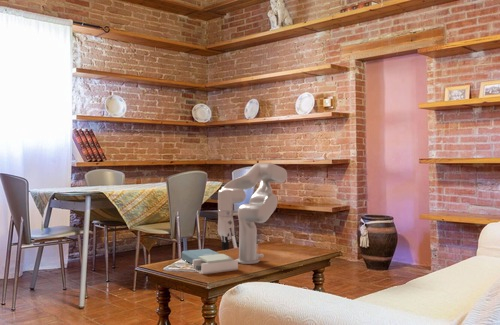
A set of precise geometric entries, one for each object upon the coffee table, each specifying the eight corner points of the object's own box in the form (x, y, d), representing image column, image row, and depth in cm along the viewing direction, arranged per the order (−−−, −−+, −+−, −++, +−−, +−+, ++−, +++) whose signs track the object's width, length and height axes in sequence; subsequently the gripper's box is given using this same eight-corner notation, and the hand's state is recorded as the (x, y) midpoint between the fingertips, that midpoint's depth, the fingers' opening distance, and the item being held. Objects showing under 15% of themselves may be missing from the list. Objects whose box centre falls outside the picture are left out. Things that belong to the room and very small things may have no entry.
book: (225, 265, 253) (225, 256, 253) (197, 268, 245) (197, 259, 245) (208, 257, 273) (208, 248, 272) (181, 259, 265) (181, 250, 265)
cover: (222, 255, 249) (222, 253, 249) (232, 260, 240) (233, 258, 240) (198, 258, 242) (198, 256, 242) (207, 263, 233) (208, 261, 233)
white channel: (227, 265, 251) (227, 255, 251) (237, 269, 242) (238, 260, 242) (192, 269, 241) (192, 259, 241) (202, 274, 231) (202, 264, 231)
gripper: (239, 215, 239) (238, 251, 240) (224, 211, 252) (224, 246, 253) (226, 216, 235) (225, 253, 236) (212, 212, 248) (212, 247, 249)
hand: (225, 249), depth 244 cm, fingers closed
